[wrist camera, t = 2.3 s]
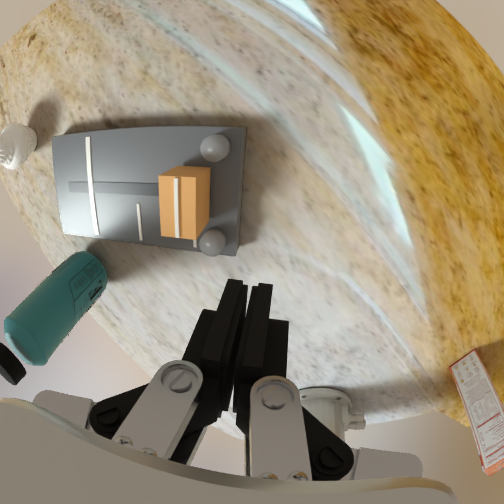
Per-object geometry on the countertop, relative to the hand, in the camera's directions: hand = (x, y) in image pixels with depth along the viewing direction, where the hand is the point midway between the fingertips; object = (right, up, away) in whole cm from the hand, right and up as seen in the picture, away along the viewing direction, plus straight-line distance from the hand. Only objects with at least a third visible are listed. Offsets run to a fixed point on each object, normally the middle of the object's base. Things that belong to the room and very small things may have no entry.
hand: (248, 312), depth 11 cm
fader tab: (-5, +7, +13) cm, 16 cm away
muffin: (-29, +17, +15) cm, 37 cm away
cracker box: (+39, -19, +24) cm, 49 cm away
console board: (-12, +9, +16) cm, 22 cm away
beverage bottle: (-20, +1, +22) cm, 30 cm away
